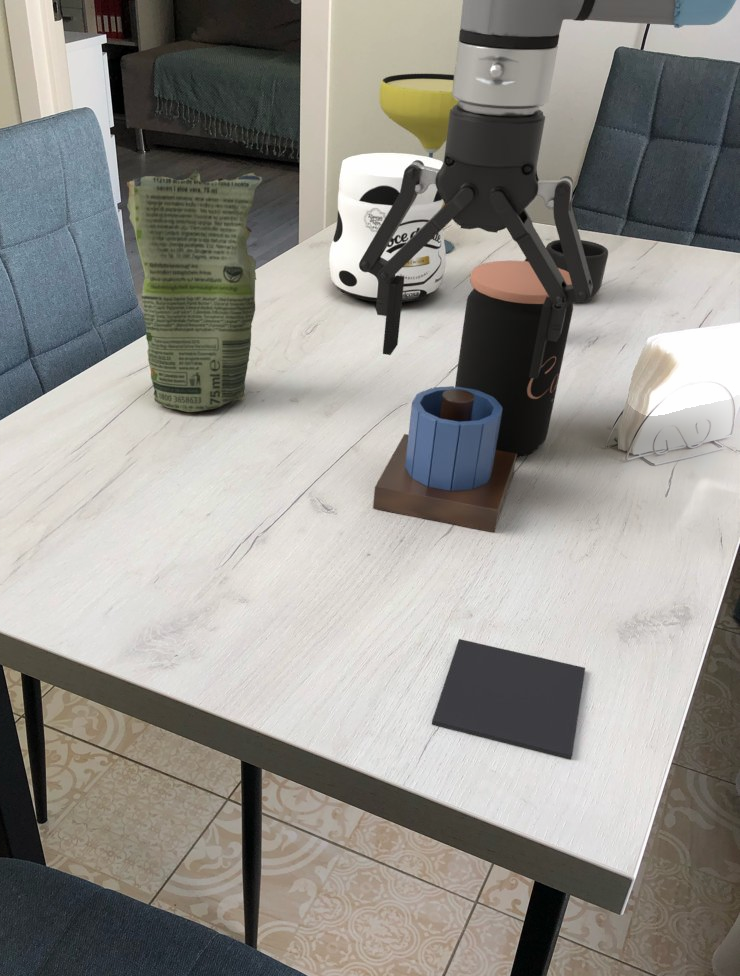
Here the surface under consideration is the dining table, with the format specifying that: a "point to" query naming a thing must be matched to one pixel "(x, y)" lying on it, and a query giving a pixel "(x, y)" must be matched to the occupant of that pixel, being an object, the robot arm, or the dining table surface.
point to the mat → (511, 698)
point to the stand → (443, 505)
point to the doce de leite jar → (361, 213)
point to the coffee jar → (511, 351)
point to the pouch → (196, 286)
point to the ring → (452, 442)
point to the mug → (594, 258)
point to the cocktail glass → (420, 108)
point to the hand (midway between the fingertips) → (461, 361)
